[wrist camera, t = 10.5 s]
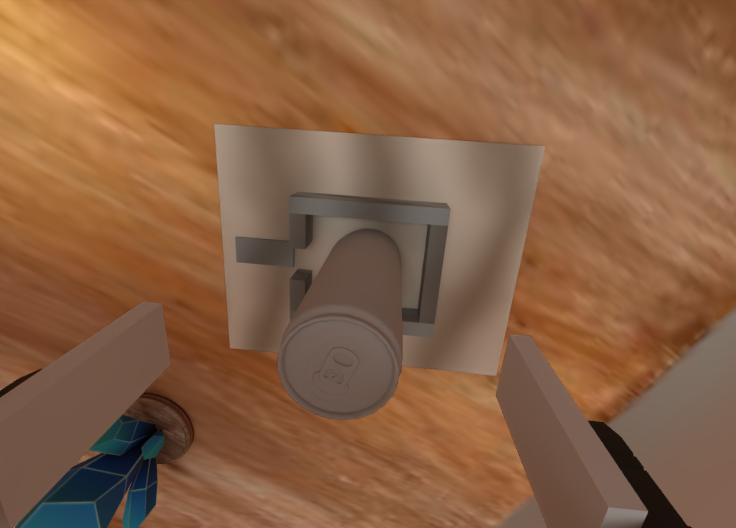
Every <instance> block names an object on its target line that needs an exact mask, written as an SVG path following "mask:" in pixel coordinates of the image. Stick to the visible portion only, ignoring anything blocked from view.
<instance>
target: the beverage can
mask: <svg viewBox="0 0 736 528" xmlns="http://www.w3.org/2000/svg"><path fill="white" fill-rule="evenodd" d="M402 359H403V329H402V305H401V258H400V253H399V250H398V248H397V246H396V244H395V243H394V242H393V241H392V240H391V239H390V238H389V237H388V236H386V235H385V234H383V233H381V232H378V231H375V230H371V229H361V230H357V231H353V232H351V233H349V234H347V235H345V236H344V237H343V238H341V239H340V240H339V241H338V242H337V243H336V244H335V246H334V247H333V248H332V250H331V252H330V254H329V255H328V257H327V259H326V260H325V262H324V264H323V266H322V267H321V269H320V271H319V272H318V274H317V276H316V278H315V279H314V281H313V283H312V284H311V286H310V288H309V290H308V291H307V293H306V295H305V297H304V298H303V300H302V302H301V304H300V305H299V307H298V309H297V311H296V312H295V314H294V316H293V318H292V319H291V321H290V323H289V324H288V326H287V328H286V330H285V331H284V334H283V338H282V341H281V345H280V350H279V354H278V358H277V365H278V374H279V377H280V380H281V383H282V385H283V387H284V388H285V390H286V391H287V393H288V394H289V396H290V397H291V398H292V399H293V400H294V401H296V402H297V403H298V404H299V405H300V406H301V407H303V408H305V409H306V410H308V411H310V412H312V413H313V414H316V415H319V416H322V417H325V418H329V419H338V420H349V419H358V418H361V417H364V416H367V415H370V414H372V413H374V412H375V411H377V410H378V409H380V408H381V407H383V406H384V405H385V404H386V403H387V401H388V400H389V399H390V398H391V397H392V396H393V393H394V391H395V389H396V386H397V384H398V378H399V376H400V374H401V369H402Z"/></svg>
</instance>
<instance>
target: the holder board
mask: <svg viewBox="0 0 736 528" xmlns="http://www.w3.org/2000/svg"><path fill="white" fill-rule="evenodd" d="M214 127H215V141H216V156H217V170H218V184H219V198H220V213H221V227H222V241H223V255H224V270H225V284H226V298H227V312H228V327H229V341H230V348H234V349H244V350H253V351H263V352H272V353H279V350H280V345H281V341H282V338H283V334H284V331H285V330H286V328H287V326H288V324H289V323H290V321H291V319H292V318H293V316H294V314H295V312H296V311H297V309H298V307H299V305H300V304H301V302H302V300H303V298H304V297H305V295H306V293H307V291H308V290H309V288H310V286H311V284H312V283H313V281H314V279H315V278H316V276H317V274H318V272H319V271H320V269H321V267H322V266H323V264H324V262H325V260H326V259H327V257H328V255H329V254H330V252H331V250H332V248H333V247H334V246H335V244H336V243H337V242H338V241H339V240H340V239H341V238H343V237H344V236H345V235H347V234H349V233H351V232H353V231H357V230H361V229H371V230H375V231H378V232H381V233H383V234H385V235H386V236H388V237H389V238H390V239H391V240H392V241H393V242H394V243H395V244H396V246H397V248H398V250H399V253H400V258H401V305H402V329H403V359H402V366H407V367H416V368H426V369H436V370H445V371H455V372H464V373H474V374H484V375H493V376H496V375H497V370H498V365H499V361H500V356H501V351H502V347H503V342H504V337H505V333H506V328H507V323H508V318H509V314H510V309H511V304H512V300H513V295H514V290H515V286H516V281H517V276H518V272H519V267H520V262H521V258H522V253H523V248H524V244H525V239H526V234H527V230H528V225H529V220H530V216H531V211H532V206H533V202H534V197H535V192H536V188H537V183H538V178H539V174H540V169H541V164H542V160H543V155H544V150H545V146H531V145H516V144H501V143H487V142H472V141H457V140H443V139H428V138H413V137H399V136H384V135H369V134H354V133H340V132H325V131H310V130H296V129H281V128H266V127H251V126H237V125H222V124H214Z"/></svg>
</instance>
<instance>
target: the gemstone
mask: <svg viewBox="0 0 736 528" xmlns="http://www.w3.org/2000/svg"><path fill="white" fill-rule="evenodd" d="M192 438H193V431H192V427H191V424H190V422H189V420H188V418H187V416H186V415H185V414H184V412H183V411H182V410H181V409H180V408H179V407H178V406H177V405H175V404H174V403H172V402H171V401H169V400H167V399H165V398H162V397H159V396H156V395H150V394H142V395H141V396H140V397H139V398H138V399H137V400H136V401H135V402H134V403H133V404H132V405H131V406H130V407H129V408H128V409H127V410H126V411H125V412H124V413H123V414H122V416H121V417H120V418H119V419H118V420H117V421H116V422H115V423H114V424H113V425H112V426H111V427H110V428H109V429H108V430H107V431H106V432H105V433H104V434H103V435H102V436H101V437H100V438H99V439H98V441H97V442H96V443H95V444H94V445H93V446H92V447H91V448H90V449H89V451H95V452H100V453H101V454H99V455H97V456H94V457H92V458H90V459H88V460H86V461H84V462H82V463H80V464H77V465H75V466H73V467H72V468H71V469H70V470H69V471H68V472H67V473H66V474H65V475H64V476H63V477H62V478H61V479H60V480H59V481H58V482H57V483H56V484H55V485H54V486H53V487H52V488H51V489H50V491H49V492H48V493H47V494H46V495H45V496H44V497H43V498H42V499H41V500H40V501H39V502H38V503H37V504H36V505H35V506H34V507H33V508H32V509H31V510H30V511H29V512H28V513H27V514H26V516H25V517H24V518H23V519H22V520H21V521H20V522H19V523H18V524H17V525H16V527H15V528H107V527H108V525H109V523H110V521H111V520H112V518H113V516H114V514H115V512H116V510H117V508H118V507H119V505H120V503H121V501H122V499H123V497H124V495H125V494H126V492H127V490H128V488H129V486H130V484H131V486H130V489H129V491H128V496H127V501H126V505H125V510H124V515H123V520H122V523H123V526H124V528H138V527H139V526H140V525H141V523H142V522H143V521H144V520H145V518H146V517H147V516H148V514H149V513H150V512H151V510H152V509H153V508H154V507H155V505H156V495H157V481H158V480H157V464H166V463H171V462H174V461H176V460H178V459H180V458H181V457H182V456H183V455H184V454H185V453H186V451H187V450H188V448H189V447H190V445H191V442H192ZM131 482H132V483H131Z"/></svg>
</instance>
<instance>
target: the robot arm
mask: <svg viewBox="0 0 736 528" xmlns="http://www.w3.org/2000/svg"><path fill="white" fill-rule="evenodd" d="M170 364H171V363H170V356H169V349H168V342H167V335H166V328H165V321H164V314H163V307H162V303H153V302H141V303H140V304H138V305H137V306H135V307H134V308H132V309H131V310H129V311H128V312H126V313H125V314H123V315H122V316H120V317H119V318H118V319H116V320H115V321H113V322H112V323H110V324H109V325H107V326H106V327H104V328H103V329H101V330H100V331H98V332H97V333H95V334H94V335H92V336H91V337H89V338H88V339H86V340H85V341H83V342H82V343H80V344H79V345H78V346H76V347H75V348H73V349H72V350H70V351H69V352H67V353H66V354H64V355H63V356H61V357H60V358H58V359H57V360H55V361H54V362H52V363H51V364H49V365H48V366H46V367H45V368H43V369H39V370H37V371H35V372H33V373H30V374H28V375H26V376H24V377H21V378H19V379H17V380H16V381H14V382H13V383H11V384H10V385H8V386H7V387H5V388H4V389H2V390H1V391H0V528H14V527H15V526H16V525H17V524H18V523H19V522H20V521H21V520H22V519H23V518H24V517H25V516H26V514H27V513H28V512H29V511H30V510H31V509H32V508H33V507H34V506H35V505H36V504H37V503H38V502H39V501H40V500H41V499H42V498H43V497H44V496H45V495H46V494H47V493H48V492H49V491H50V489H51V488H52V487H53V486H54V485H55V484H56V483H57V482H58V481H59V480H60V479H61V478H62V477H63V476H64V475H65V474H66V473H67V472H68V471H69V470H70V469H71V468H72V467H73V466H74V464H75V463H76V462H77V461H78V460H79V459H80V458H81V457H82V456H83V455H84V454H85V453H86V452H87V451H88V450H89V449H90V448H91V447H92V446H93V445H94V444H95V443H96V442H97V441H98V439H99V438H100V437H101V436H102V435H103V434H104V433H105V432H106V431H107V430H108V429H109V428H110V427H111V426H112V425H113V424H114V423H115V422H116V421H117V420H118V419H119V418H120V417H121V416H122V414H123V413H124V412H125V411H126V410H127V409H128V408H129V407H130V406H131V405H132V404H133V403H134V402H135V401H136V400H137V399H138V398H139V397H140V396H141V395H142V394H143V393H144V392H145V390H146V389H147V388H148V387H149V386H150V385H151V384H152V383H153V382H154V381H155V380H156V379H157V378H158V377H159V376H160V375H161V374H162V373H163V372H164V371H165V370H166V369H167V368H168V367H169V365H170ZM496 397H497V400H498V402H499V405H500V407H501V410H502V413H503V415H504V418H505V420H506V423H507V425H508V428H509V431H510V433H511V436H512V438H513V441H514V444H515V446H516V449H517V451H518V454H519V456H520V459H521V462H522V464H523V467H524V469H525V472H526V474H527V477H528V480H529V482H530V485H531V487H532V490H533V493H534V495H535V498H536V500H537V503H538V505H539V508H540V511H541V513H542V516H543V518H544V521H545V523H546V526H547V528H692V527H690V526H687V525H686V524H685V522H684V521H683V520H682V518H681V517H680V516H679V514H678V513H677V512H676V510H675V509H674V508H673V506H672V505H671V504H670V502H669V501H668V500H667V498H666V497H665V495H664V494H663V493H662V491H661V490H660V489H659V487H658V486H657V485H656V483H655V482H654V481H653V479H652V478H651V477H650V475H649V474H648V473H647V471H644V469H643V466H642V465H641V463H640V462H639V460H638V459H637V458H636V457H634V456H633V453H632V451H631V450H630V449H629V447H628V446H627V445H626V443H625V442H624V440H623V439H622V438H621V437H620V436H619V435H618V434H617V433H616V432H614V431H613V430H612V429H611V428H610V427H608V426H607V425H606V424H605V423H604V422H597V421H587V419H586V418H585V416H584V415H583V413H582V412H581V410H580V409H579V407H578V406H577V404H576V403H575V401H574V400H573V398H572V397H571V395H570V394H569V393H568V391H567V390H566V388H565V387H564V385H563V384H562V382H561V381H560V379H559V378H558V376H557V375H556V373H555V372H554V370H553V369H552V367H551V366H550V364H549V363H548V361H547V360H546V358H545V357H544V355H543V354H542V352H541V351H540V349H539V348H538V346H537V345H536V343H535V342H534V340H533V339H532V337H531V336H526V335H514V334H509V338H508V343H507V347H506V352H505V356H504V361H503V365H502V369H501V374H500V378H499V383H498V387H497V392H496Z"/></svg>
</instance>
